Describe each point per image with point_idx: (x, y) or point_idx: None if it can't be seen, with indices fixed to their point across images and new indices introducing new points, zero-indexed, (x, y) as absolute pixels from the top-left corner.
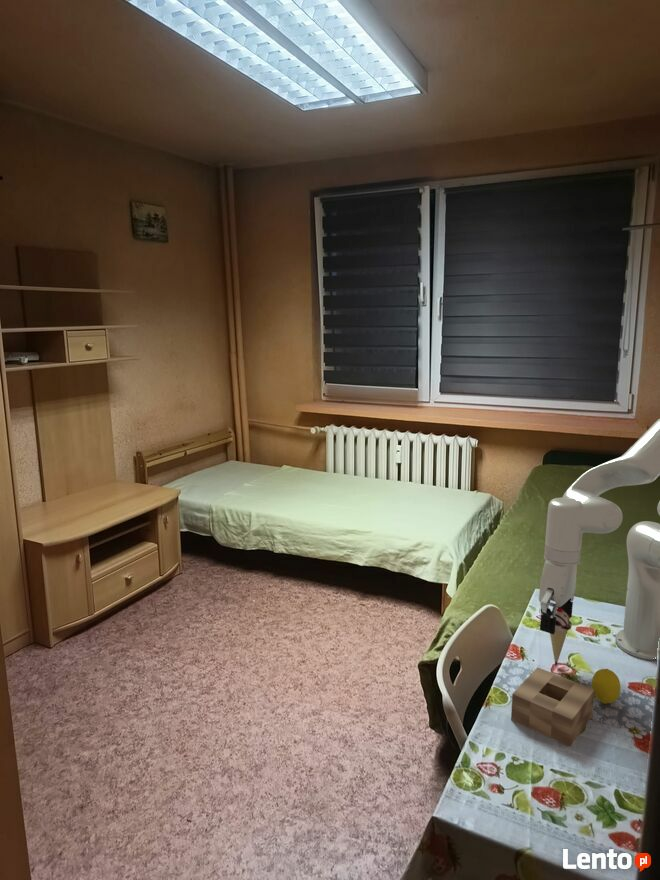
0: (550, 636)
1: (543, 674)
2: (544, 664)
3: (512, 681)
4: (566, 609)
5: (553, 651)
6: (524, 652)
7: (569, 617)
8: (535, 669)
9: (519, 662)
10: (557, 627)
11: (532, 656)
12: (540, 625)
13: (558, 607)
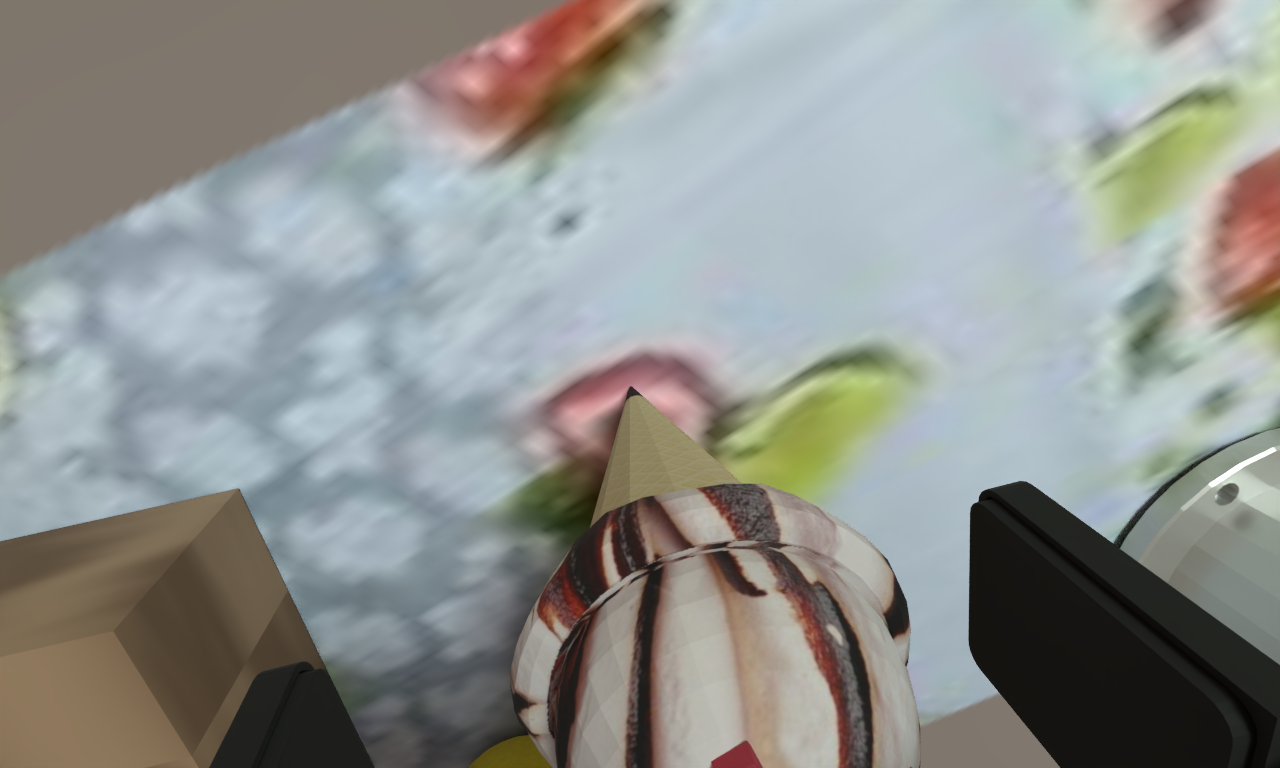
0: (628, 468)
1: (82, 720)
2: (589, 317)
3: (163, 306)
4: (1064, 707)
5: (618, 433)
6: (609, 91)
7: (976, 655)
8: (64, 643)
9: (437, 166)
10: (552, 760)
11: (611, 182)
12: (229, 734)
13: (1062, 584)
